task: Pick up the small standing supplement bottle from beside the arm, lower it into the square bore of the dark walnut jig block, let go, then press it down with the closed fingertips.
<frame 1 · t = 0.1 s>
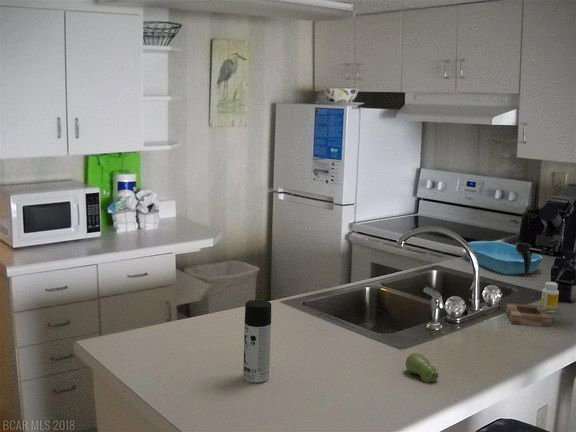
hand: (540, 278, 222), 15 cm above the worktop, tool tilted 30°, fingers open, 9 cm apart
walnut jig: (527, 319, 227), on the worktop
spray can: (256, 378, 177), on the worktop
supplement bottle: (548, 310, 237), on the worktop
casserole dish: (500, 266, 293), on the worktop
pear: (421, 377, 181), on the worktop
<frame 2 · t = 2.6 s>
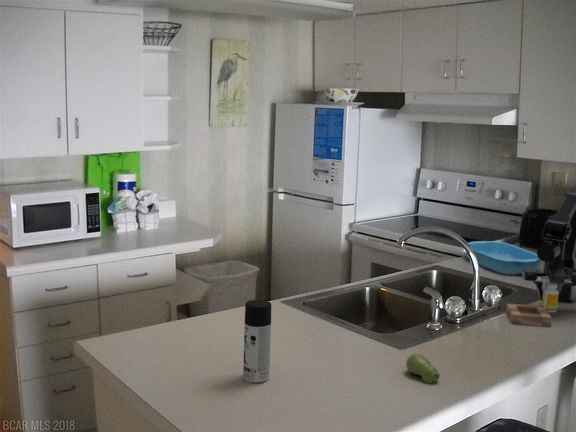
hand: (549, 300, 236), 4 cm above the worktop, tool pointing down, fingers closed on supplement bottle, 5 cm apart
supplement bottle: (548, 310, 237), on the worktop, touching gripper
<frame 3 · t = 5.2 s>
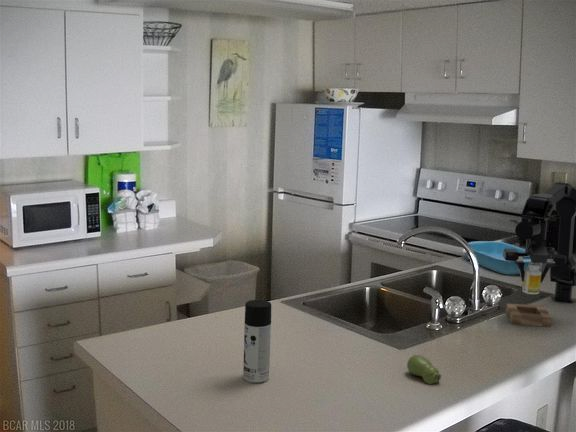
hand: (531, 281, 225), 13 cm above the worktop, tool pointing down, fingers closed on supplement bottle, 5 cm apart
supplement bottle: (530, 292, 225), point 9 cm above the worktop, touching gripper
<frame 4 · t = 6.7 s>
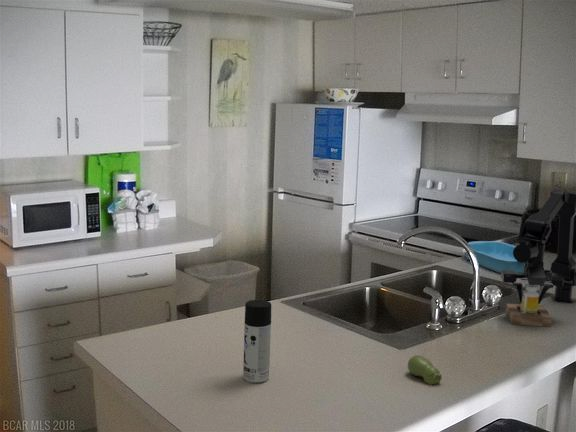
hand: (529, 303, 226), 5 cm above the worktop, tool pointing down, fingers closed on supplement bottle, 5 cm apart
supplement bottle: (528, 314, 227), point 2 cm above the worktop, touching gripper
when the fingers open (5 cm above the worktop, at t = 7.7 s): supplement bottle drops 1 cm, resting in walnut jig.
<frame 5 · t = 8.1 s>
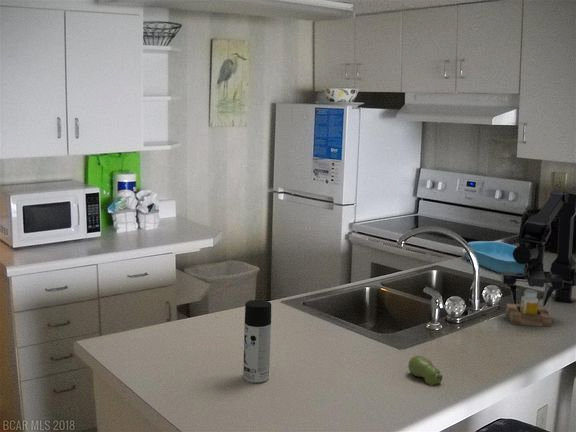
hand: (529, 304, 226), 5 cm above the worktop, tool pointing down, fingers open, 9 cm apart
supplement bottle: (527, 319, 227), resting in walnut jig
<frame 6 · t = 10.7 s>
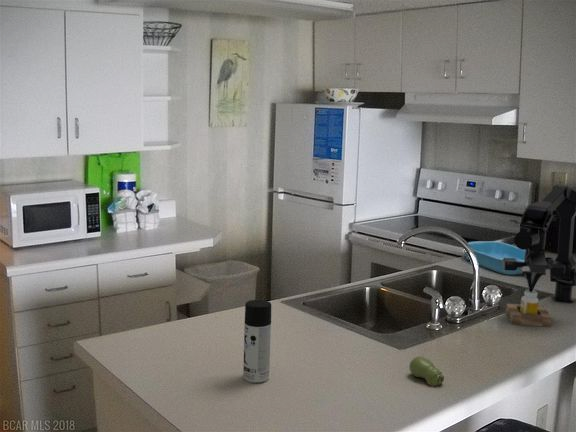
hand: (530, 291, 225), 10 cm above the worktop, tool pointing down, fingers closed, pressing on supplement bottle
supplement bottle: (527, 319, 227), resting in walnut jig, touching gripper
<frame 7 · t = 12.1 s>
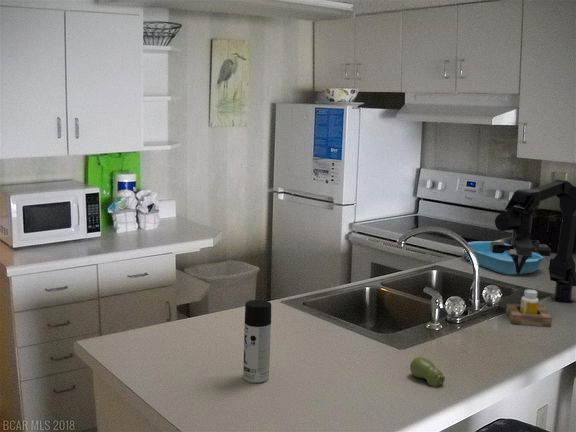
hand: (517, 273, 233), 13 cm above the worktop, tool pointing down, fingers closed
supplement bottle: (527, 319, 227), resting in walnut jig
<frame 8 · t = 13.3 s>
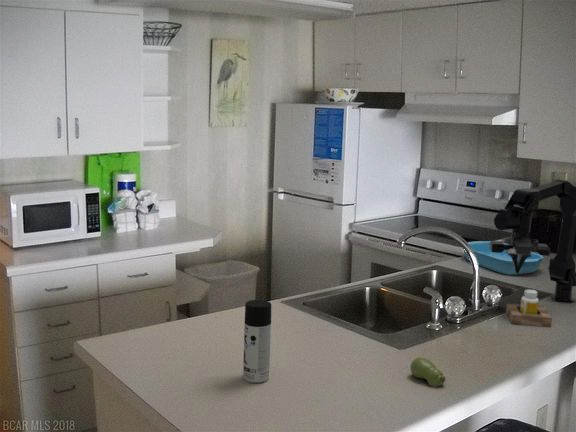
hand: (516, 272, 234), 13 cm above the worktop, tool pointing down, fingers closed
at the end: supplement bottle 0.1 cm off-centre on the walnut jig, point 0.0 cm above the walnut jig's base; supplement bottle tilted 0°; the gripper is holding nothing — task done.
